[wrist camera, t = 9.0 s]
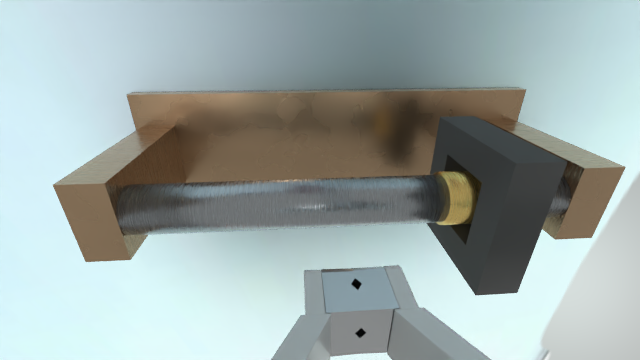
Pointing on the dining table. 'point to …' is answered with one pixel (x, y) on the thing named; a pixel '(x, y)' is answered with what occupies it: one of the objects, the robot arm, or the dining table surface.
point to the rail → (304, 166)
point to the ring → (495, 201)
